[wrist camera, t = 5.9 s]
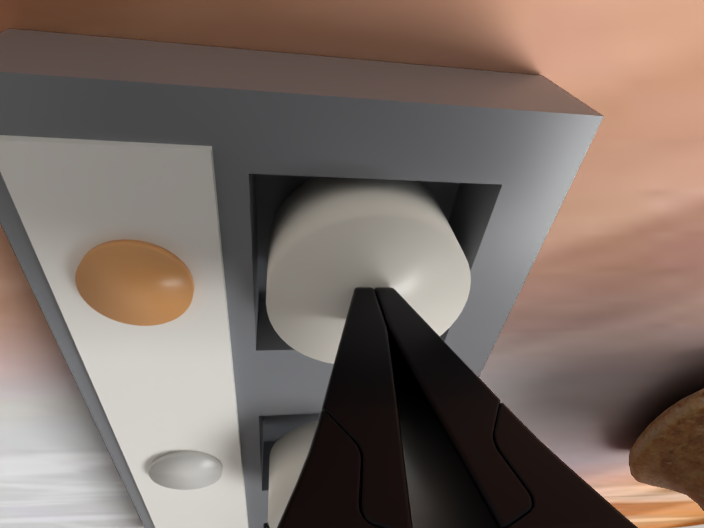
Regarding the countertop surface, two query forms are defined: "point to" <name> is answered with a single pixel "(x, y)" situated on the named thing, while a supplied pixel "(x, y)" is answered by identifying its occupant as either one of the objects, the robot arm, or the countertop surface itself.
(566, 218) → the countertop surface
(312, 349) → the button
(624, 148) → the countertop surface
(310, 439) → the button middle
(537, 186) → the button board
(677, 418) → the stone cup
